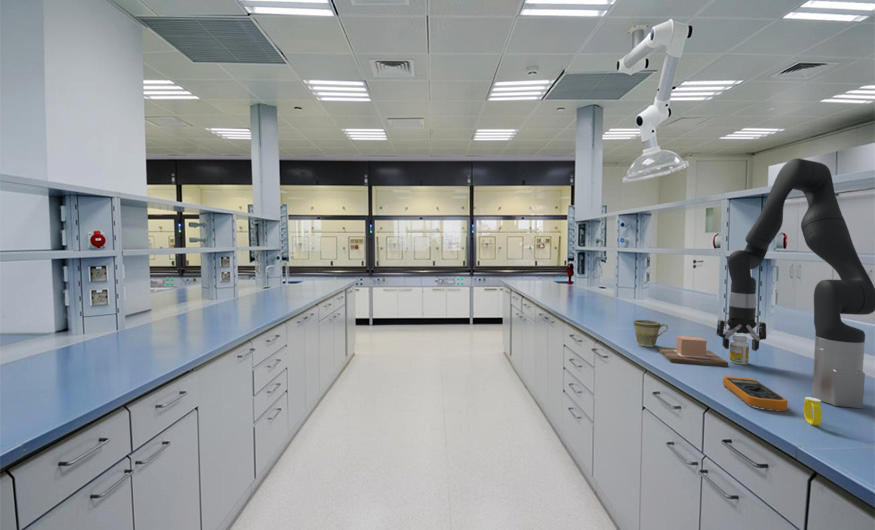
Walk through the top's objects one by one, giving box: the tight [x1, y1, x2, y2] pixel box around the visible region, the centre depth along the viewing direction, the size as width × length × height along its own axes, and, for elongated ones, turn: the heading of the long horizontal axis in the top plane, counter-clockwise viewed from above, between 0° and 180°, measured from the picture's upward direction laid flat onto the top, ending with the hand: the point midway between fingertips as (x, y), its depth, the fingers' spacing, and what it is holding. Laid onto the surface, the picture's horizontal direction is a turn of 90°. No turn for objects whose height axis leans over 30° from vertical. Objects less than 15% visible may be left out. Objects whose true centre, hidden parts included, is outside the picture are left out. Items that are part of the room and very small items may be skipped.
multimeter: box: [722, 375, 788, 412], centre depth 106 cm, size 9×18×3 cm, turn 163°
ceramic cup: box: [633, 319, 669, 348], centre depth 161 cm, size 13×10×10 cm
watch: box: [803, 396, 823, 427], centre depth 90 cm, size 6×3×6 cm, turn 153°
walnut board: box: [657, 346, 729, 368], centre depth 143 cm, size 16×18×2 cm
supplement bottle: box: [728, 334, 750, 365], centre depth 138 cm, size 5×5×10 cm
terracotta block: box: [675, 335, 707, 357], centre depth 143 cm, size 6×8×6 cm
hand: (740, 349), depth 138 cm, fingers open, 8 cm apart
